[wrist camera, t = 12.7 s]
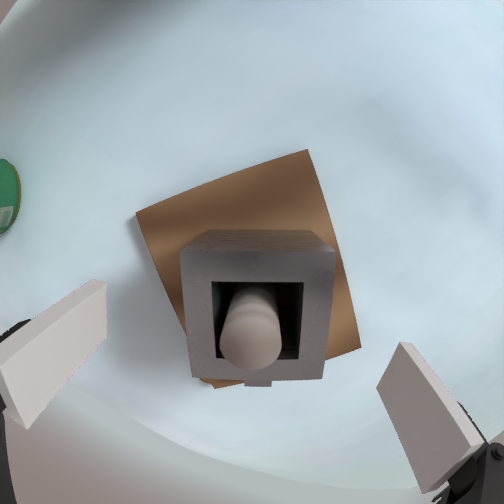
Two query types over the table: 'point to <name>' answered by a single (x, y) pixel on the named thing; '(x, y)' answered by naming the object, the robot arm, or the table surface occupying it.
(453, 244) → the table surface
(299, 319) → the grey hollow square block
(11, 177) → the beverage can
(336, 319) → the post base
